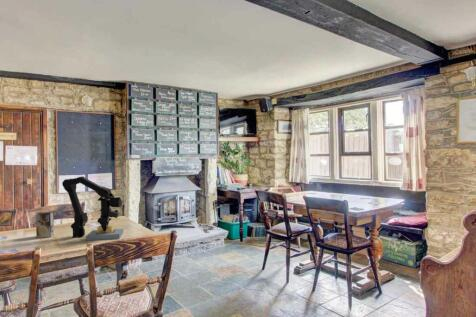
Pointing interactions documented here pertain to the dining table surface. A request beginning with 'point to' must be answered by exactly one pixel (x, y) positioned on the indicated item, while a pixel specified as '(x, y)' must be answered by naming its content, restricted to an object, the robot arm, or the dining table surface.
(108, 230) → the bar
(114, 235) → the keyed plate
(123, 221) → the dining table surface
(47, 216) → the coffee box
